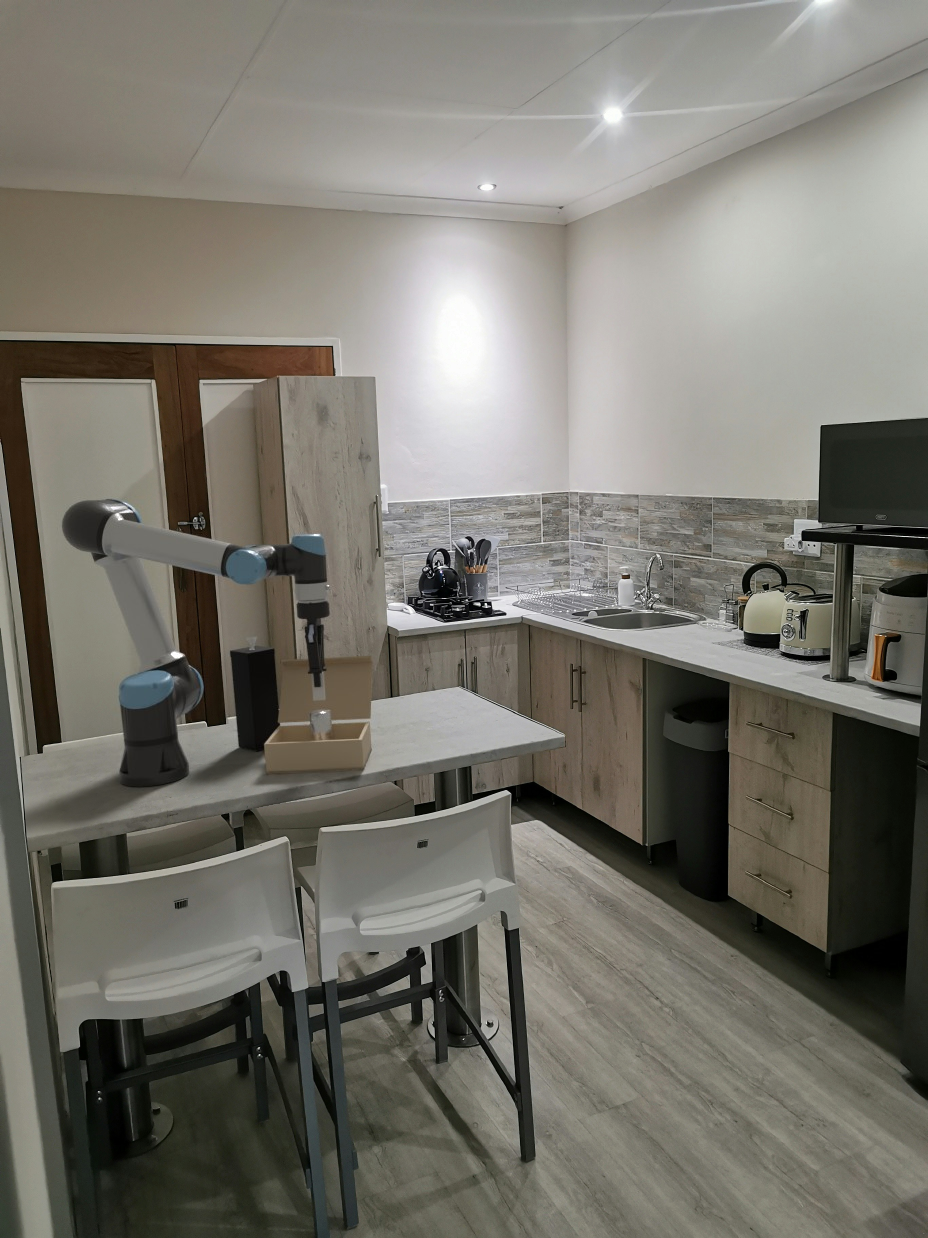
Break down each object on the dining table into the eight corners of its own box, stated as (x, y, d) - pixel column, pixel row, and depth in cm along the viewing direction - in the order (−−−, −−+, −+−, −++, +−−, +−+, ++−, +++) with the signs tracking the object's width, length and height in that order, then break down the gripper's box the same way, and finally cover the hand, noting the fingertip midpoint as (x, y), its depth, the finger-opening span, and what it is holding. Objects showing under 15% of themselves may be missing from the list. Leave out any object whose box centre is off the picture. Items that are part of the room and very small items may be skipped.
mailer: (266, 774, 207) (264, 744, 206) (281, 754, 223) (279, 725, 222) (363, 769, 207) (361, 739, 206) (371, 749, 223) (369, 721, 222)
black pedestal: (282, 744, 231) (273, 635, 228) (256, 752, 226) (246, 639, 222) (264, 740, 237) (255, 632, 233) (238, 747, 231) (228, 637, 227)
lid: (281, 660, 230) (284, 665, 232) (276, 717, 220) (278, 722, 223) (371, 655, 229) (372, 661, 232) (369, 713, 220) (370, 718, 222)
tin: (310, 758, 216) (307, 715, 215) (314, 752, 221) (311, 710, 220) (332, 757, 216) (329, 714, 215) (335, 751, 221) (332, 709, 219)
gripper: (324, 603, 208) (331, 705, 211) (332, 596, 221) (338, 692, 224) (291, 604, 208) (298, 706, 211) (301, 598, 221) (308, 694, 224)
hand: (319, 699), depth 218 cm, fingers closed
